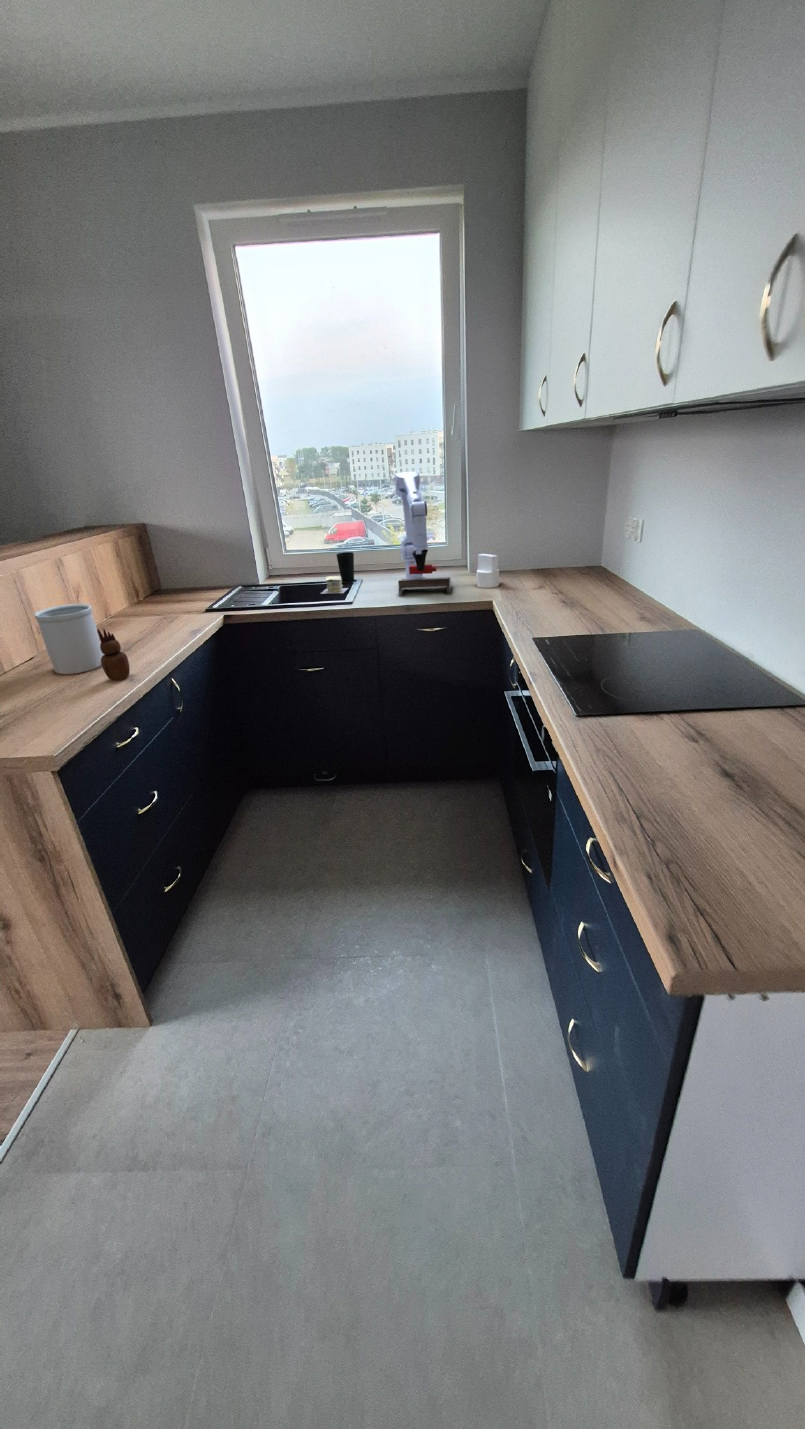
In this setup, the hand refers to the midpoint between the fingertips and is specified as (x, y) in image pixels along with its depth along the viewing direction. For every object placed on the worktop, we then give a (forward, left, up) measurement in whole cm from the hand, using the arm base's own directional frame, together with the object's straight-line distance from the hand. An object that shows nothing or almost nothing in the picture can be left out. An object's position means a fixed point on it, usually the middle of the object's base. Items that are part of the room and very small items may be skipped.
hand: (421, 569), depth 229 cm
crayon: (0, 0, -1) cm, 1 cm away
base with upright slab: (-5, +26, -9) cm, 28 cm away
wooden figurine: (+90, -79, -9) cm, 120 cm away
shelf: (+1, +1, -9) cm, 9 cm away
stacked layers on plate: (-6, -38, -9) cm, 39 cm away
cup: (-25, -36, -9) cm, 44 cm away
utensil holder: (+79, -98, -9) cm, 126 cm away
